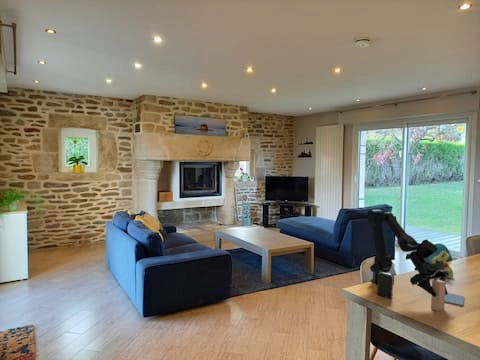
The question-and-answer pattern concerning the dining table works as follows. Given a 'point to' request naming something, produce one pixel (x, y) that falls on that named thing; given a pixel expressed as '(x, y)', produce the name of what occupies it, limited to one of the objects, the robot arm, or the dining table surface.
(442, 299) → the block
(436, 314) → the dining table surface
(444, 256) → the chocolate bunny
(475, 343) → the dining table surface
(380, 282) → the battery charger
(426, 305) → the dining table surface
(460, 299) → the mat
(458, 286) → the dining table surface
